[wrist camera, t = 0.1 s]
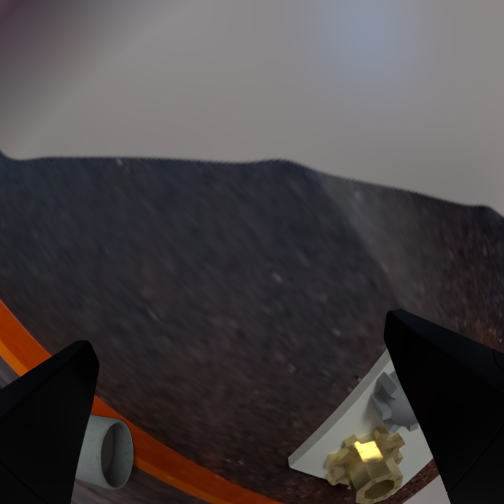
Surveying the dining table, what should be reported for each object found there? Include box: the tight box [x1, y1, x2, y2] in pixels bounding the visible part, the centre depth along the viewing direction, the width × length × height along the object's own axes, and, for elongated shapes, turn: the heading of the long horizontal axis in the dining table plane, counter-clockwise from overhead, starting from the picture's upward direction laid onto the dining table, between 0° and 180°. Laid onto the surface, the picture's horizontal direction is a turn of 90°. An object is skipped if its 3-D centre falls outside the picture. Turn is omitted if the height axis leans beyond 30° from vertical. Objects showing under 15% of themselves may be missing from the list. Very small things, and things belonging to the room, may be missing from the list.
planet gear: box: [325, 427, 405, 504], centre depth 22 cm, size 8×8×5 cm
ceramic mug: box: [75, 415, 133, 490], centre depth 22 cm, size 11×8×8 cm
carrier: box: [288, 349, 433, 495], centre depth 24 cm, size 18×17×5 cm
